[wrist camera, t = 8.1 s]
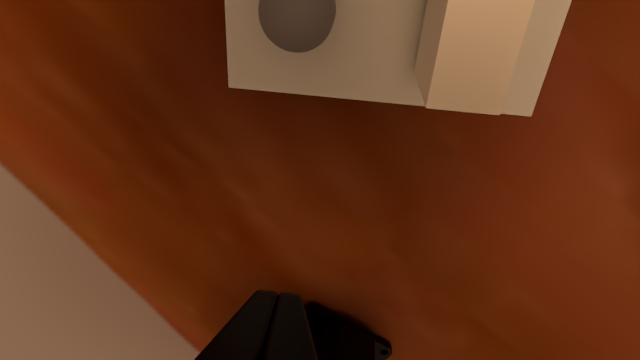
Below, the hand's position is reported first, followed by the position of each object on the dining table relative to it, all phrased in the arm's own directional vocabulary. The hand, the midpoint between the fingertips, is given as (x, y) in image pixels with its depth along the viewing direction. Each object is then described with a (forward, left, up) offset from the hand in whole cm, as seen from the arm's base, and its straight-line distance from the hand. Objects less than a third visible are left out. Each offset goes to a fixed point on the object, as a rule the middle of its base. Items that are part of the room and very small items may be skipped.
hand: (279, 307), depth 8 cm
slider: (+5, -2, -12) cm, 13 cm away
